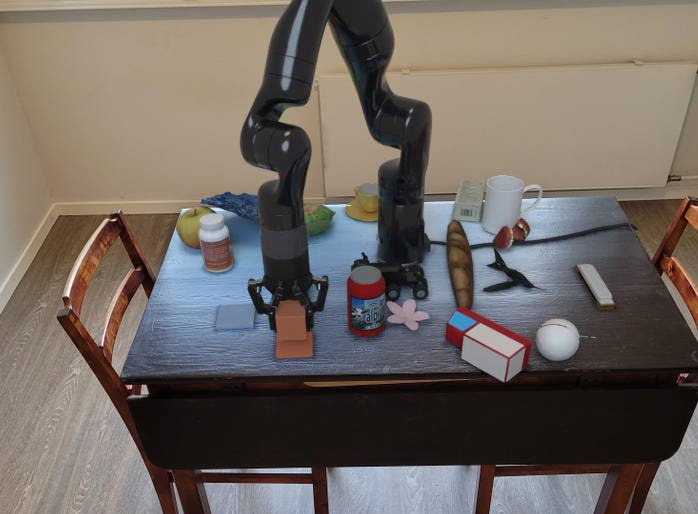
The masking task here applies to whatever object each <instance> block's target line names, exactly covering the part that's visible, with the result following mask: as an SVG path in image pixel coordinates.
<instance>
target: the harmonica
mask: <svg viewBox="0 0 698 514" xmlns="http://www.w3.org/2000/svg"><path fill="white" fill-rule="evenodd" d="M574 269H575V271H576V273H577V276H578V278H579V279H580V281H581V283H582V284H583V286H584V288H585V289H586V292H588V293H587V294H589V296H590V297H591V299H592V301H593V303H594V304H595V305H596V307H597V308H598V310H600V311H601V310H615V309H616V308H617V306H616V303H615V301H614V299H613V294H612V293H611V291H610V289H609V288H608V286H607V285H606V283H605V282H604V280H603V278H602V277H601V275H600V274H599V272H598V271H597V269H596V267H595V266H594V264H590V263H576V264H575V266H574Z"/></svg>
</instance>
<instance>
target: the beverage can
mask: <svg viewBox="0 0 698 514" xmlns="http://www.w3.org/2000/svg"><path fill="white" fill-rule="evenodd" d="M385 288H386V287H385V280H384V278H383V276H382V275H381V272H380V270H379V269H377V268H376V267H373V266H360V267H357V268H355V269H353V270H352V271H351V270H350V273H349V276H348V277H347V280H346V306H347V327H348V330H349V331H350V332H351V333H352V334H354V335H355V336H359V337H362V338H363V337H364V338H369V337H374V336H377V335H379V334H381V333H383V331H384V329H385V325H386V323H385V322H386V296H385Z"/></svg>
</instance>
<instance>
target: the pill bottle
mask: <svg viewBox="0 0 698 514" xmlns="http://www.w3.org/2000/svg"><path fill="white" fill-rule="evenodd" d="M216 213H217V212H216ZM216 213H211V214H206V215H204V216H202V217H201V218H200V226H201V228H200V230H199V233H198V234H199V240H200V246H201V248H200V249H201V251H200V252H201V257H202V261H203V266H204V269H205V270H207V271H208V272H210V273H215V274H217V273H219V274H220V273H224V272H227V271H228V270H231V269H232V268H233V267H234V264H235V260H234V255H233V248H232V242H231V235H230V230H229V228H228V226H227V225H225V221H224V217H223V215H222V214H220V213H217V214H216Z"/></svg>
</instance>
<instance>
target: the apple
mask: <svg viewBox="0 0 698 514" xmlns="http://www.w3.org/2000/svg"><path fill="white" fill-rule="evenodd" d="M211 213H216V214H218V213H217V212H216V211H215V210H214V209H212V207H211V208H210V207H209V206H205V205H204V206H203V205H202V206H201V205H200V206H195V207H192V208H189V209H187V210H185V211H184V212H182V213H181V215H179V217H177V220H176V224H175V230H176V233H177V236H178V237H179V239H180V241H181V242H182V243H183V244H184V245H185V246H187V247H190V248H192V249H201V246H200V240H199V234H198V233H199V230H200V228H201V226H200V218H201V217H202V216H204V215H206V214H211Z"/></svg>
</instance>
